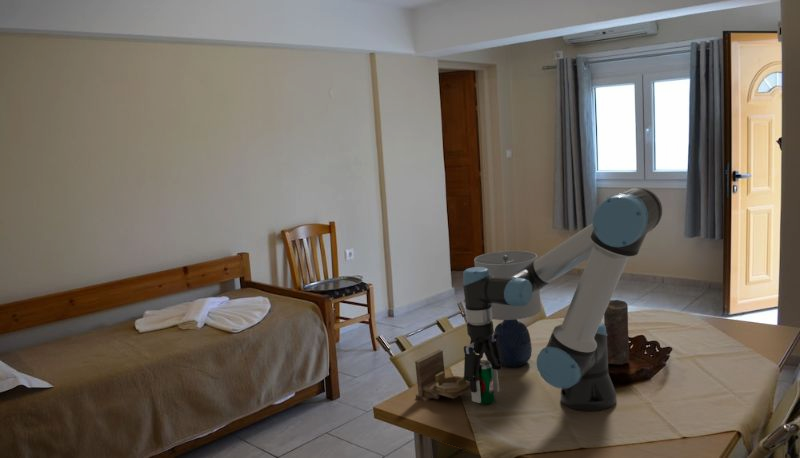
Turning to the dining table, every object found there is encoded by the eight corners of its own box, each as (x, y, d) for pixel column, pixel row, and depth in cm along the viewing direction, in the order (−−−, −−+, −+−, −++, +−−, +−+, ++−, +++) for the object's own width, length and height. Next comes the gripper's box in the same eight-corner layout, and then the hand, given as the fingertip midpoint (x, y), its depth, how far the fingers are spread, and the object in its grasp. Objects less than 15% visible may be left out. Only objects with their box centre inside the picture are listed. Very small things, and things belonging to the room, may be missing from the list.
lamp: (470, 366, 217) (461, 259, 212) (508, 348, 231) (500, 247, 225) (519, 379, 202) (510, 265, 197) (556, 359, 216) (549, 251, 210)
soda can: (494, 405, 186) (491, 365, 184) (477, 405, 187) (473, 366, 185) (495, 397, 191) (492, 359, 189) (478, 398, 192) (475, 359, 190)
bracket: (476, 395, 194) (472, 357, 192) (453, 409, 186) (449, 369, 185) (439, 385, 204) (435, 349, 202) (415, 398, 196) (412, 360, 195)
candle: (632, 360, 209) (629, 300, 206) (627, 368, 203) (624, 307, 199) (608, 357, 213) (605, 299, 210) (602, 365, 207) (599, 305, 204)
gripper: (490, 309, 195) (496, 380, 199) (446, 330, 180) (453, 406, 184) (511, 312, 190) (517, 385, 194) (467, 334, 175) (474, 412, 179)
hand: (485, 395), depth 189 cm, fingers open, 8 cm apart
